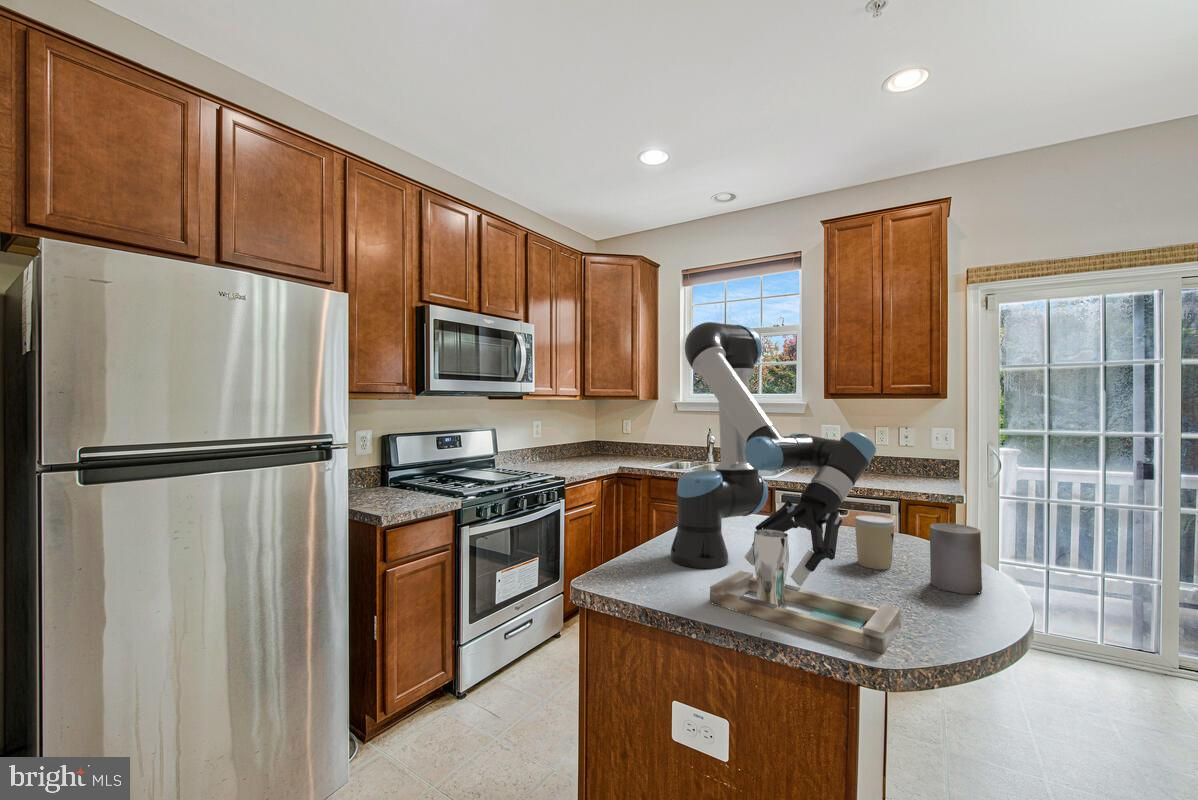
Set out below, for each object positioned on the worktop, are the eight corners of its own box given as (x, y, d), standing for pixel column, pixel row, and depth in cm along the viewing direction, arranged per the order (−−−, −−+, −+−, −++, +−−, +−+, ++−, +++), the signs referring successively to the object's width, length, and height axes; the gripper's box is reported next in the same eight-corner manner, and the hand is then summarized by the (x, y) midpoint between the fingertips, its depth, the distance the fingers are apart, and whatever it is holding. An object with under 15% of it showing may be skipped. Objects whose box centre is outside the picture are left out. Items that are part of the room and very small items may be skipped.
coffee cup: (902, 570, 127) (902, 523, 128) (865, 570, 127) (865, 522, 128) (882, 559, 137) (882, 515, 137) (847, 559, 137) (847, 514, 137)
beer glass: (751, 610, 101) (751, 535, 102) (754, 598, 108) (754, 527, 108) (788, 615, 99) (788, 539, 99) (789, 603, 105) (789, 531, 106)
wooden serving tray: (709, 603, 105) (709, 586, 105) (740, 585, 115) (740, 570, 115) (882, 654, 83) (882, 632, 84) (900, 626, 94) (900, 607, 94)
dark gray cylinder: (960, 580, 121) (959, 517, 121) (993, 595, 111) (991, 526, 111) (920, 580, 120) (919, 517, 121) (949, 595, 111) (948, 527, 111)
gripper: (887, 515, 98) (829, 604, 92) (792, 495, 121) (742, 564, 115) (867, 489, 96) (807, 578, 90) (775, 473, 119) (722, 543, 113)
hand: (770, 571), depth 103 cm, fingers open, 13 cm apart
